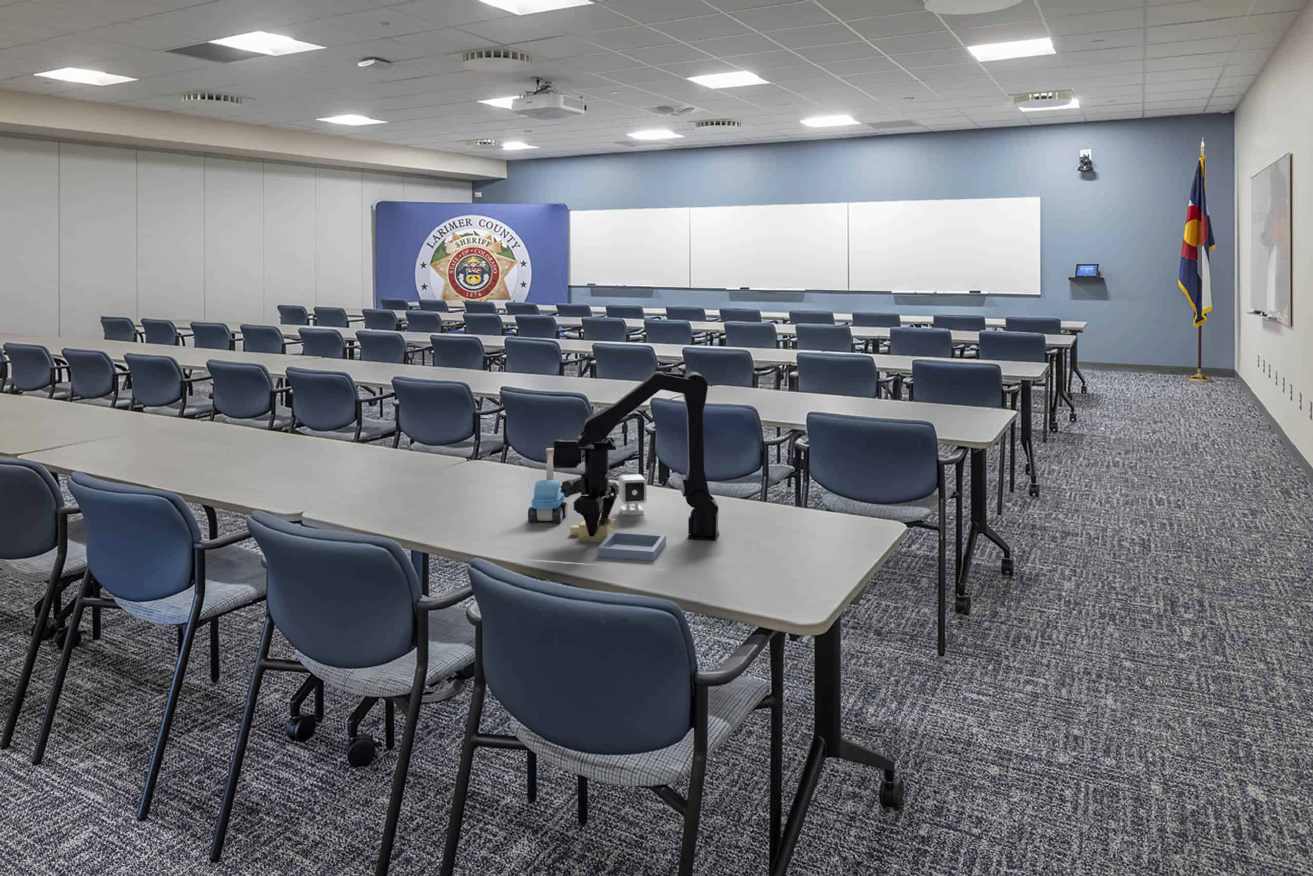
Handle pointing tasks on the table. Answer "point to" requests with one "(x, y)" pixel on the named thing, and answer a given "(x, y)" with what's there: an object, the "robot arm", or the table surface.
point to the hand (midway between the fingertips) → (597, 531)
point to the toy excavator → (548, 497)
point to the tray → (631, 546)
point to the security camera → (632, 493)
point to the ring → (601, 531)
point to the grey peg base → (591, 540)
